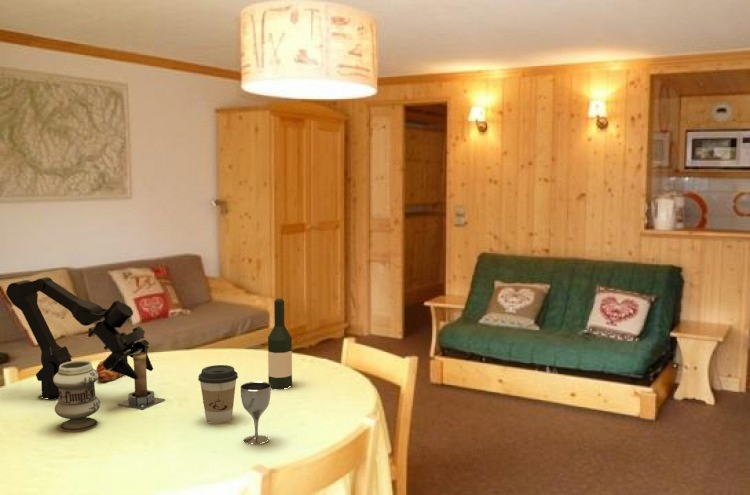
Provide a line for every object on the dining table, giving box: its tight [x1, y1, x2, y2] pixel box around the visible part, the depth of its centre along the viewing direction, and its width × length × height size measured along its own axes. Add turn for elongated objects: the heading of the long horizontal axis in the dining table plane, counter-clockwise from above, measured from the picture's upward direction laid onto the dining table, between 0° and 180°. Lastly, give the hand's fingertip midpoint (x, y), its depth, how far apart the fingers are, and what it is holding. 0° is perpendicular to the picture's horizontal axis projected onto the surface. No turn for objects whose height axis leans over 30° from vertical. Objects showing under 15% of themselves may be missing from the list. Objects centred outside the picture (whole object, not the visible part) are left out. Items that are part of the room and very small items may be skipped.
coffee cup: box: [197, 364, 239, 425], centre depth 208 cm, size 11×11×15 cm
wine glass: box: [240, 381, 272, 445], centre depth 192 cm, size 8×8×15 cm
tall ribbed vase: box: [132, 353, 148, 397], centre depth 222 cm, size 4×4×15 cm
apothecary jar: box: [53, 360, 102, 433], centre depth 202 cm, size 12×12×18 cm
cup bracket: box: [117, 389, 166, 411], centre depth 223 cm, size 10×10×3 cm
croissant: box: [95, 359, 124, 382], centre depth 253 cm, size 21×10×8 cm, turn 4°
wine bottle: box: [267, 297, 293, 390], centre depth 239 cm, size 8×8×30 cm
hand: (144, 374), depth 222 cm, fingers open, 9 cm apart
